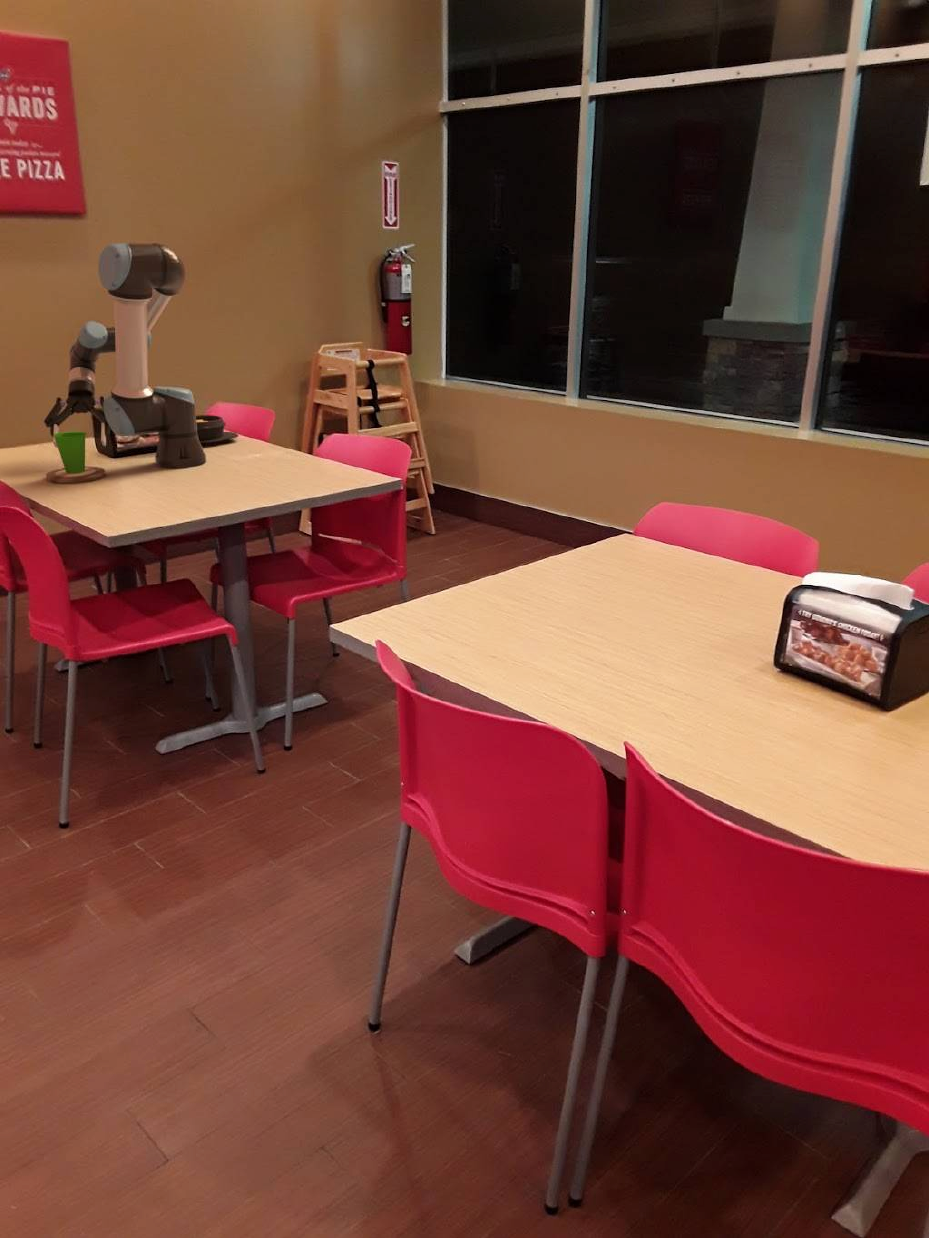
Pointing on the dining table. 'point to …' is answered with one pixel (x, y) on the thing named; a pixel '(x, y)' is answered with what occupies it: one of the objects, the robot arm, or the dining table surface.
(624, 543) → the dining table surface
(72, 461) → the cup
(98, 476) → the walnut board
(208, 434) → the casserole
